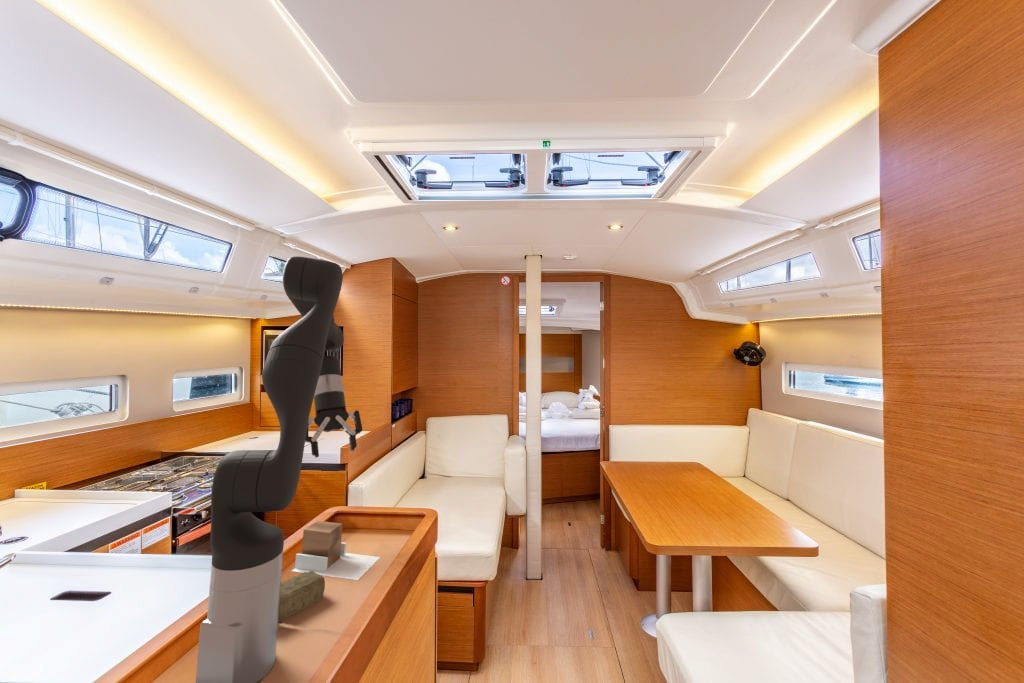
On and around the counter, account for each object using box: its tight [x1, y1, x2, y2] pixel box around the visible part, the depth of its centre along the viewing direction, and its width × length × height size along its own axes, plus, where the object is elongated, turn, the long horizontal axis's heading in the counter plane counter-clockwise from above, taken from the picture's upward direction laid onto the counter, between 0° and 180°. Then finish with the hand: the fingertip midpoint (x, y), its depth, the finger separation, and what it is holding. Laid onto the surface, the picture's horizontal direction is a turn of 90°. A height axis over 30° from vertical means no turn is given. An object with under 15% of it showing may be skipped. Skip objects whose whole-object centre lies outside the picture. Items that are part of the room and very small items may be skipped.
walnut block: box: [301, 520, 343, 569], centre depth 90 cm, size 5×6×8 cm
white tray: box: [291, 541, 381, 581], centre depth 89 cm, size 10×20×4 cm, turn 81°
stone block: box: [278, 571, 326, 625], centre depth 73 cm, size 6×12×5 cm, turn 149°
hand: (335, 453), depth 100 cm, fingers open, 8 cm apart
